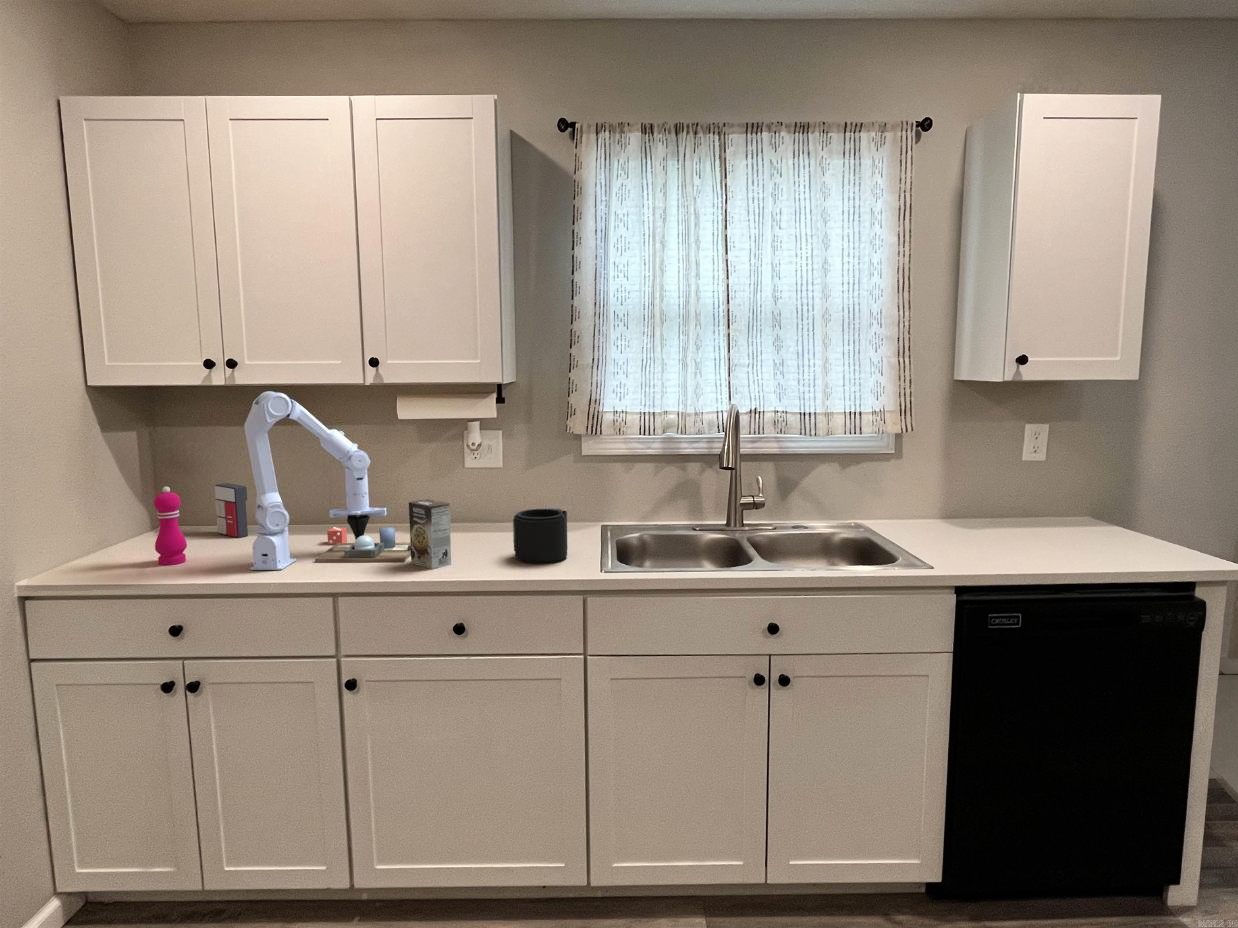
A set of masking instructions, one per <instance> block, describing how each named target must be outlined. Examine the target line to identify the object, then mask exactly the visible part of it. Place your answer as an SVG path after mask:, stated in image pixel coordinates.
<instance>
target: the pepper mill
mask: <svg viewBox="0 0 1238 928" xmlns="http://www.w3.org/2000/svg"><path fill="white" fill-rule="evenodd" d="M161 491H162V493H159V494H157V495H156V496H155V498H154V499H153V506H154V508H155V509H156V510H157V512H156V515H157V516H156V517H157V518H158V519H159V532H158V534H157V537H156V540H155V542H154V543H155V544H154V551H156V553H157V554H158V555H159V556H158V557H157V561H158V565H160V566H176V565H180V564H183V563H185V562H186V561H187V558H186V557H187V556H186V555H187V554H186V553H184V552H185V550H186V549H187V547H188V544H187V540H186V537H185V535H184V534H183V532H182V531H181V529H180V526H179V522H178V521H179V516H180V511H179V507H180V506H181V498H180V496H179V495H178V494H177V493H176V492H171V488H170V487H169V486H163V487H162V489H161Z"/></svg>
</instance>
